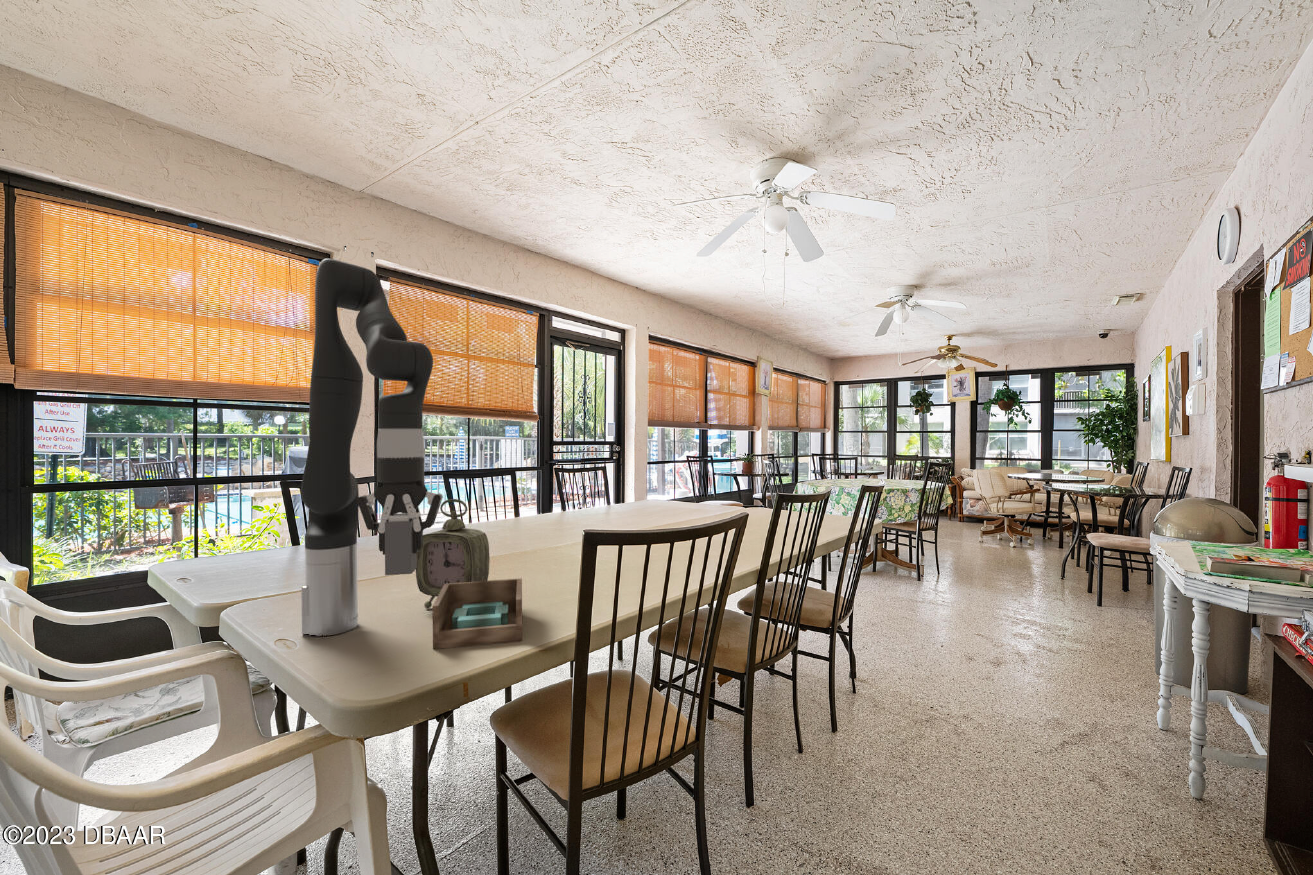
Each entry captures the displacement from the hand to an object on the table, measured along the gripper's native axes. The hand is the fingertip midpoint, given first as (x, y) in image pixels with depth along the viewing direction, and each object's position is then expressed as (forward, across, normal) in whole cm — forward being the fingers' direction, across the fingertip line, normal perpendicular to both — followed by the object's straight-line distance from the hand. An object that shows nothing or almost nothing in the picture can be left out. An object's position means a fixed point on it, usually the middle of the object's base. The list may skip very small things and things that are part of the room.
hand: (401, 552), depth 96 cm
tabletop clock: (+19, +5, +31) cm, 37 cm away
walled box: (+19, +12, +13) cm, 26 cm away
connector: (+3, 0, 0) cm, 3 cm away
